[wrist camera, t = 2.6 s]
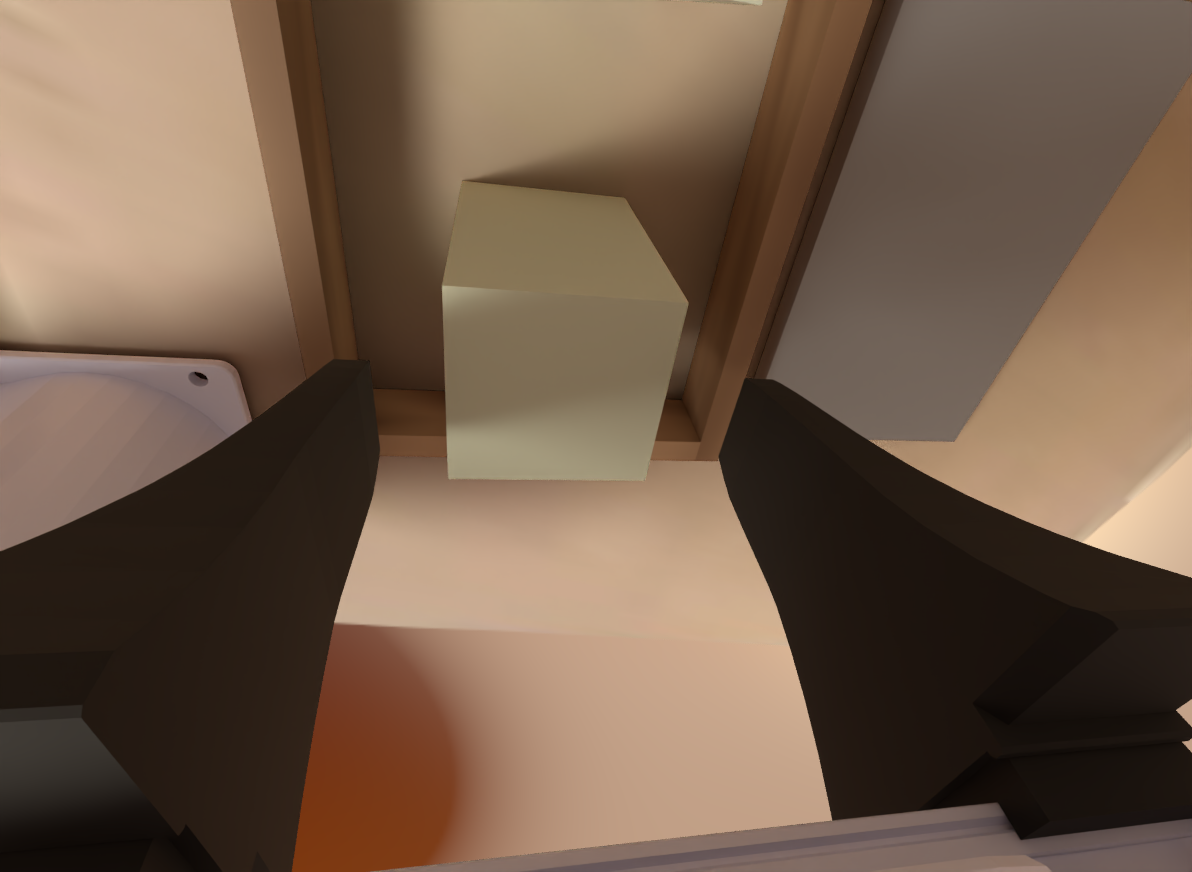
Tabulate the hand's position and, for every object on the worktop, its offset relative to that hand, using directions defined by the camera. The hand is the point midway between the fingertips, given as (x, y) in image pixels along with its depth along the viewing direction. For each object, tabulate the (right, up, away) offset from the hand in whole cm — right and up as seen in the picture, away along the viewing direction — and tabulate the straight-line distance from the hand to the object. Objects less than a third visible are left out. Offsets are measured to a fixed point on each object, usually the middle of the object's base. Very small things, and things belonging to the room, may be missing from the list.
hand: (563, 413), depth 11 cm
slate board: (+11, +5, +7) cm, 15 cm away
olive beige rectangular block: (-1, +5, +6) cm, 8 cm away
